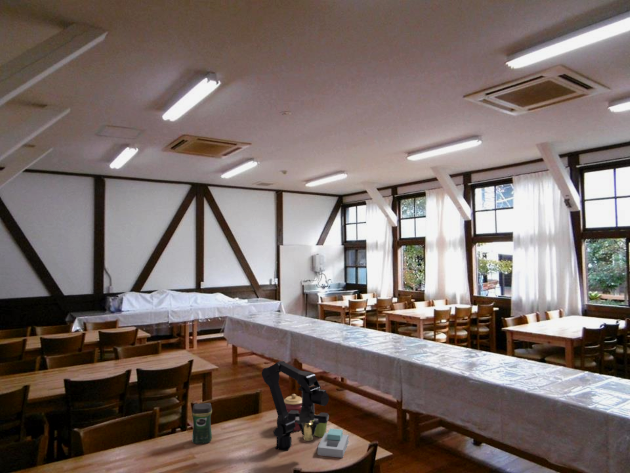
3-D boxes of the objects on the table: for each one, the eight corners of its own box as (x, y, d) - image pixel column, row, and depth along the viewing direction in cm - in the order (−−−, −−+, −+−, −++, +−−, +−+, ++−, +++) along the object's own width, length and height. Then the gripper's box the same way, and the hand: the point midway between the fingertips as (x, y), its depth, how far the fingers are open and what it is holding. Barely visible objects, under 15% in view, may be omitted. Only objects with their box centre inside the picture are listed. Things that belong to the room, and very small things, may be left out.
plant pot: (313, 439, 219) (313, 422, 219) (308, 432, 228) (308, 415, 228) (330, 437, 222) (330, 420, 222) (325, 430, 231) (325, 413, 231)
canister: (279, 423, 240) (279, 391, 240) (301, 421, 243) (302, 389, 244) (284, 433, 227) (285, 399, 228) (308, 430, 231) (308, 396, 232)
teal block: (327, 439, 211) (327, 434, 211) (330, 433, 218) (330, 428, 218) (340, 440, 209) (340, 435, 209) (342, 434, 216) (342, 429, 216)
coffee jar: (212, 437, 222) (212, 400, 223) (211, 444, 214) (211, 406, 215) (193, 438, 220) (193, 401, 221) (190, 445, 213) (191, 407, 213)
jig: (317, 454, 203) (317, 447, 203) (325, 439, 219) (325, 432, 219) (342, 457, 200) (342, 450, 200) (348, 442, 216) (348, 434, 216)
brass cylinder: (302, 440, 199) (302, 424, 199) (304, 436, 203) (304, 421, 204) (311, 441, 198) (311, 425, 198) (313, 437, 202) (313, 422, 203)
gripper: (283, 405, 196) (283, 440, 195) (324, 408, 191) (324, 444, 191) (290, 397, 207) (290, 430, 206) (328, 400, 202) (329, 434, 202)
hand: (308, 435), depth 201 cm, fingers closed on brass cylinder, 4 cm apart
